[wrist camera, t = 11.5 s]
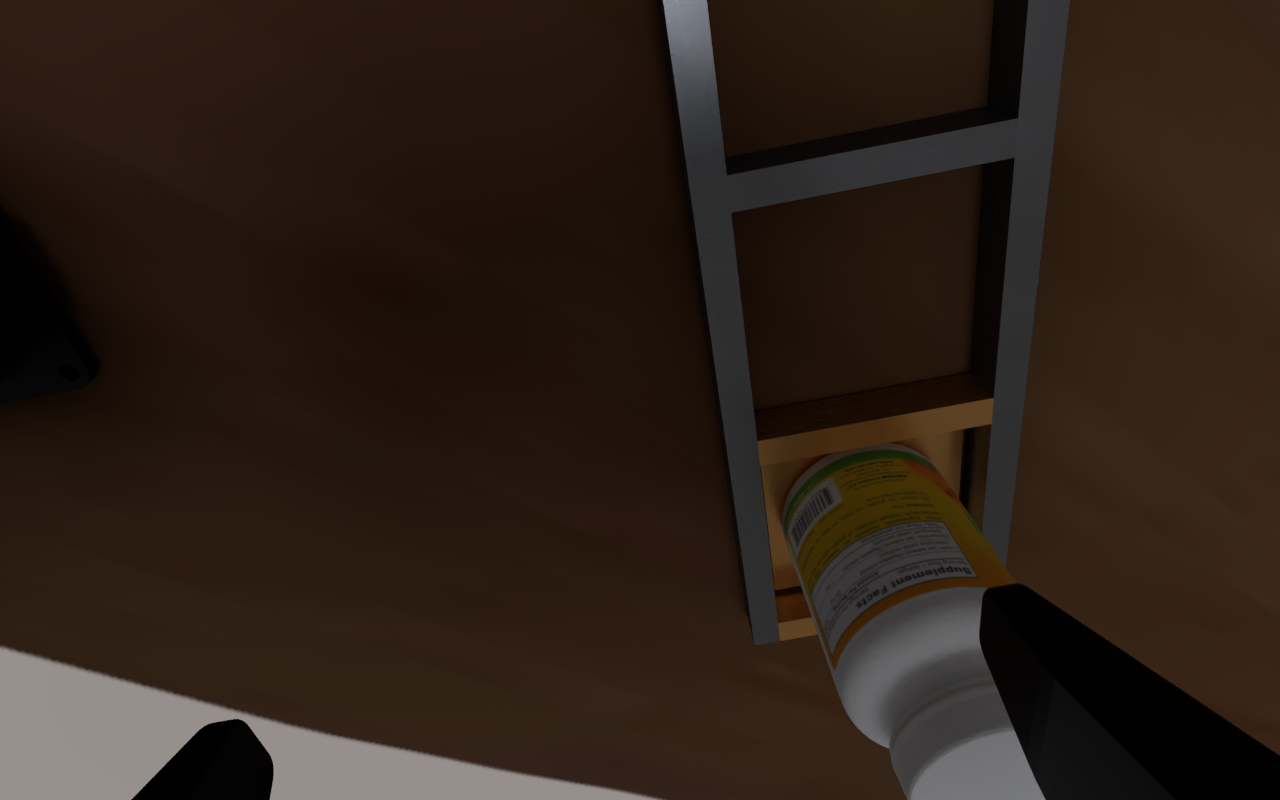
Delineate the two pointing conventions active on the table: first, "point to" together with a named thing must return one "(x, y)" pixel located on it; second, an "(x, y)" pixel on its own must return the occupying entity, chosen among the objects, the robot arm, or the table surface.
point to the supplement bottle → (906, 619)
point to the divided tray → (906, 414)
